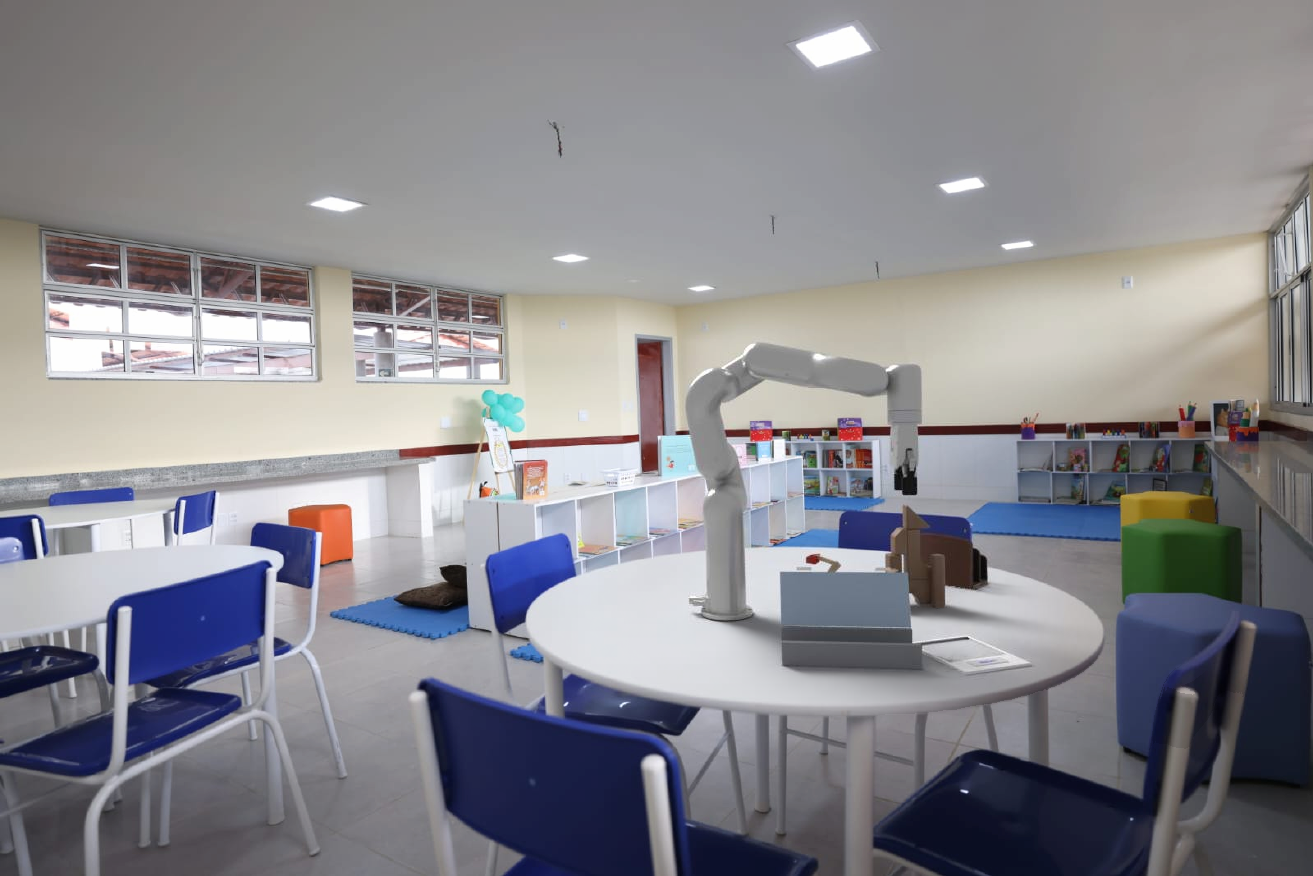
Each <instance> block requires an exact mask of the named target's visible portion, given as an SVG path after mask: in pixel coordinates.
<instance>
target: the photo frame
mask: <svg viewBox="0 0 1313 876" xmlns="http://www.w3.org/2000/svg"><path fill="white" fill-rule="evenodd" d="M959 639H968V640H969V641H971V642H973V643H975V644H976V645H979V646H982V647H984V648H986V649H989V650H990V651H993V652H994V653H995V652H996V653H998V654H1001V655H993V656H992V655H991V656H986V657H979V658H972V659H965V660H964V659H963V660H957V661H950V662H949V661H947V660H945V659H943V658H942V657H939V656H937V655H936V654H934V653H931V652H929V651H927V650H926V649H923V648H922V655H925V656H928V657H930V658H931V659H932V660H934V661H937V662H939V663H941V664H942V665H945V666H947V667H949V668H951V669H953V670H955V671H957V672H959V673H961V674H963V675H965V676H966V675H974V674H982V673H987V672H989V673H990V672H994V671H1001V670H1008V669H1009V670H1010V669H1016V668H1023V667H1028V666H1032V662H1030V661H1028V660H1026V659H1023V658H1021V657H1019V656H1016V655H1014V654H1012V653H1009V652H1006V651H1004V650H1003V649H999V648H997V647H995V646H993V645H990V644H988V643H986V642H983V641H981V640H979V639H976V638H974V637H972V636H969V635H959V636H958V635H956V636H949V637H943V638H934V639H927V640H919V641H912V642H913V643H917V644H921V645H922V644H926V643H935V642H943V641H944V642H945V641H951V640H959Z"/></svg>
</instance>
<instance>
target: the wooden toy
mask: <svg viewBox="0 0 1313 876" xmlns="http://www.w3.org/2000/svg"><path fill="white" fill-rule="evenodd" d="M926 529H927V530H929V529H931V526H930V525H929V524H928V523H927V522H926V521H925V520H924V519H923V518H921V517H920V515H918V514H917V513H916V512H915V511H914V510H913V509H912V508H911V507H910V506H908V505H907V504H902V527H896V528H895V529H894V531H893V532H892V533H891V534H890V553H889V552H888V553H885V555H884V558H885V559H884V562H885V563H884V564H885V567H884V568H891V571H885V572H893V573H908V582H909V595H910V594H911V595H912V596H913V598H914V602H915V603H916V604H918V605H920V606H929V605H930V606H932V607H933V608H936V609H943V608H946V586H945V556H944V555H942V554H932V555H931V567H930V566H928V565H926V564H924V563H923V561H922V560H921V558H920V533H921V530H926Z"/></svg>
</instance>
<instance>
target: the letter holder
mask: <svg viewBox="0 0 1313 876" xmlns="http://www.w3.org/2000/svg"><path fill="white" fill-rule="evenodd" d="M932 554H942V555H944V556H945V587H951V586H955V587H954V588H958V587H960V588H959V589H964V588H965V589H964V590H970V589H971V590H970V591H973V590H976V589H978V588H979V586H980V587H982V586H984V584H985V585H987V584H988V582H989V581H988V579H989V577H988V576H989V575H988V574H989V572H988V558H987V556H986V555H985V554H982V553H981V552H980V549H977V548H976V547H974V543H973V542H972V541H971V540H970V539H966V538H963V537H958V536H954V535H947V534H943V533H942V534H941V533H932V532H920V558H921V560H922V561H923V563H924V564H926V565H928V566H930V567H931V555H932ZM986 583H987V584H986ZM977 587H978V588H977ZM972 589H973V590H972Z"/></svg>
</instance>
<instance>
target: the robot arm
mask: <svg viewBox="0 0 1313 876" xmlns="http://www.w3.org/2000/svg"><path fill="white" fill-rule="evenodd" d="M765 380H768V381H772V382H778V383H783V384H788V385H793V386H797V387H798V386H799V387H802V388H804V387H805V388H811V389H826V390H827V389H828V390H833V391H839V392H844V393H850V394H854V395H859V396H861V397H864V398H874V397H881V396H886V398H887V401H886V403H887V404H886V405H887V406H886V412H887V413H886V415H887V416H886V417H887V418H886V419H887V424H886V425H888V426H890V432H889V433H890V435H889V436H890V437H889V460H888V461H889V465H890V466H891V467H892V468H894V471H893V472H894V473H893V490H894V491H901V494H902V496H917V495H918V473H917V468H918V466H919V458H920V457H919V453H920V452H919V430H918V425H923V413H922V412H923V409H922V408H923V405H922V403H923V400H922V399H923V397H922V396H923V395H922V394H923V393H922V391H923V390H922V389H923V387H922V380H923V379H922V369H921V367H920V365H918V364H916V363H904V364H903V363H900V364H898V363H897V364H892V365H890V366H881V365H880V364H877V363H875V362H870V361H865V360H860V359H859V360H858V359H853V358H848V357H842V356H837V355H836V356H835V355H830V354H825V353H822V352H818V351H814V350H813V351H812V350H808V349H807V350H806V349H800V348H796V347H795V348H794V347H789V346H783V345H780V344H775V343H769V342H760V341H759V342H754V343H753V342H752V343H751V344H749V345H747V346H746V348H745V349H744V351H743V354H742V355H741V356H739V357H737V358H736V359H734V360H733V361H730V362H729V363H728V364H726V365H724V366H723V367H720V366H718V367H716V366H714V367H711V368H708V369H705V370H704V371H703V372H702V373H700V374H699V375H698V376H697V377H696V378H695V379H694V380H693V382H692V383H691V384H690V386H689V388H688V390H687V393H686V395H685V396H686V397H685V405H684V406H685V407H684V408H685V416H686V417H685V418H686V421H687V425H688V426H687V427H688V431H689V437H690V441H691V446H692V451H693V456H694V461H695V465H696V469H697V471H698V473H699V474H700V475H701V476H702V477H703V478H704V481H705V485H706V488H707V493H706V495H705V497H704V500H703V504H702V505H703V506H702V515H703V516H702V517H703V525H704V526H703V527H704V540H705V542H704V543H705V546H704V547H705V549H704V550H705V569H706V571H705V573H706V593H705V595H701V596H693V595H692V596H691V595H690V596H689V597H688V601H689V602H688V604H689V605H692V606H693V607H701V606H702V607H701V609H700V614H701V616H702V617H704V618H707V619H710V620H714V621H726V622H727V621H739V620H744V619H747V618H750V617H751V616H753V612H754V611H753V607H751V606H750V605H748V604H747V592H746V591H747V590H746V589H747V587H746V584H747V582H746V581H747V580H746V550H745V548H746V547H745V526H744V523H745V522H744V511H745V509H746V507H747V503H748V496H747V495H748V494H747V491H746V486H745V482H744V478H743V473H742V470H741V465H740V461H739V457H738V454H737V452H736V449H735V448H734V447H733V445H732V444H730V443H729V442H728V439H727V435H726V431H725V424H724V422H723V418H722V414H721V405H722V404H725V403H729V402H730V401H733V400H735V399H736V398H738V397H740V396H742V395H743V394H745V393H746V392H747V391H750V390H751V389H753V388H754V387H756V386H758V385H759V384H761V383H762V382H765Z"/></svg>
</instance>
